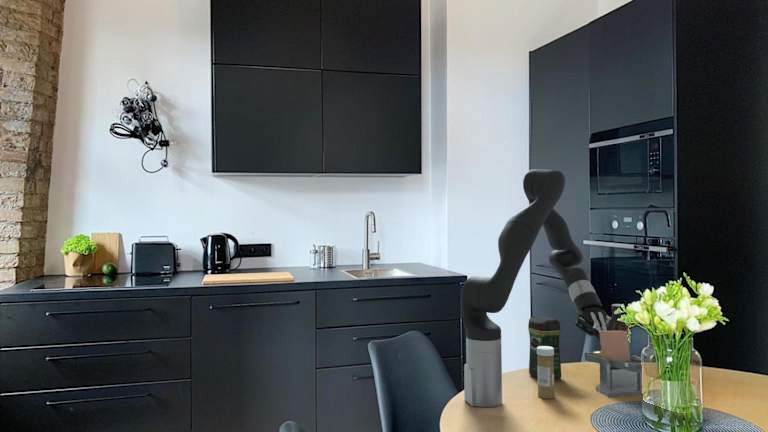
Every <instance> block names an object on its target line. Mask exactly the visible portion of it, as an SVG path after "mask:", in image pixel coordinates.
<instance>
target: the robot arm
mask: <svg viewBox="0 0 768 432" xmlns="http://www.w3.org/2000/svg"><path fill="white" fill-rule="evenodd" d="M565 178H566V177H565V175H564V173H562V171H560V170H557V169H545V168H544V169H542V168H541V169H540V168H538V169H537V168H535V169H534V168H533V169H530V170H528V171H526V173H525V174H524V177H523V181H522V187H523V191H524V194H525V197H526V198H527V200H528V202H529V205H527V206H526V207H524V208H522V209H520V210H519V211H518V212H516V213H515V214H514V215H512V216H511V217H509V219H508V220H507V222H506V223H505V225H504V227H503V229H502V230H501V232H500V234H499V236H498V239H497V240H498V242H497V243H498V244H497V245H498V246H497V248H498V253H499V259H500V262H499V264H498V267H497V269H496V271H495V273H493V275H492V276H491V277H489V276H488V277H487V276H470V277H468V278H467V279H465V281H464V283H463V286H462V290H461V309H462V310H461V311H462V322H463V324H462V325H463V327H464V329H465V338H466V339H465V341H466V342H465V346H466V347H465V348H466V349H465V350H466V351H465V352H466V354H465V355H466V356H465V357H466V359H465V361H466V363H464V365H463V372H464V373H463V375H464V376H463V383H464V387H463V388H464V391H463V392H464V394H463V395H464V400H465V401H466V402H467V403H468V404H469V406H470V407H479V408H494V407H499V406H501V405H502V404H503V385H502V384H503V375H502V374H503V372H502V369H503V367H502V364H503V363H502V362H503V361H502V359H503V358H502V329H501V326H499V325H498V324H497V323H495V322H494V321H492V319H490V317H489V315H488V314H498V313H500V312H501V311H502V310H503V309H504V308H505V306H506V304H507V302H508V300H509V298H510V295H511V293H512V289H513V287H514V285H515V282H516V279H517V276H518V274H519V272H520V270H521V268H522V266H523V264H524V261H525V260H526V258H527V257H528V254H529V252H530V251H531V249H532V247H533V245H534V243H535V241H536V239H537V237H538V235H539V233H540V230H541V229H542V227H543V230H544V232H545V235H546V237H547V241H548V243H549V245H550V247H551V249H552V251H551V252H550V253H549V255H548V262H549V264H550V267H551V268H553V269H554V271H555V272H556V273H558V275H559V276H560V277H561V279H562V280H563V282H564V283H565V286H566V288H567V291H568V292H569V297H570V299H571V301H572V304H573V305H574V308H575V311H576V312H577V314H578V318H577V319H576V321H575V323H574V325H575V326H576V327H577V328H579V329H580V330H581V331H583V332H584V333H585V334H587V335H588V336H589V337H595V338H597V340H598V343H599V344H600V346H601V343H600V333H599V331H612V329H613V326H614V323H615V320H616V318H615V317H614V316H613V317H612V316H609V315H608V314H607V312H606V311H605V310H604V309H603V304H602V303H601V300H600V298H599V296H598V294H597V293H596V290H595V288H594V287H593V285H592V284H591V282H590V280H589V278H588V276H587V273H586V271H585V270H584V269H583V268H582V267H576V266H578V265H581V264H582V262H583V258H584V256H583V253H582V251H581V249H580V248H579V246H577V245H576V243H575V242H574V240H573V239H572V235H571V233H570V230H569V226H568V225H567V222H566V220H565V219H564V218H563V217H562V215H560V214H559V213H558V211H556V209H554V208H555V206H556V204H557V203H558V202H559V200H560V199H561V197H562V194H563V192H564V189H565V185H566V179H565ZM606 325H607V326H606Z"/></svg>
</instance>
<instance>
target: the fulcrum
mask: <svg viewBox="0 0 768 432" xmlns="http://www.w3.org/2000/svg"><path fill="white" fill-rule="evenodd" d="M631 358H635V359H640V360H641V358H642V357H640V356H637V355H631ZM595 391H597V392H598V393H600V394H602V395H603V396H606V397H607V398H610V397H611V398H613V397H626V396H639V395H641V396H642V395H643V394H642V373H637V372H633V371H628V370H624V369H620V368H616V367H610V361H609V360H607V359H605V358H603V357H600V364H599V386H595Z"/></svg>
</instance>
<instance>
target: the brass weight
mask: <svg viewBox="0 0 768 432" xmlns="http://www.w3.org/2000/svg"><path fill="white" fill-rule="evenodd" d="M593 355H594V356H599V357H602V353H601V350H595V351H593Z"/></svg>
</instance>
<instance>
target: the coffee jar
mask: <svg viewBox="0 0 768 432" xmlns="http://www.w3.org/2000/svg"><path fill="white" fill-rule="evenodd" d="M527 329H528V334H529V361H528V374H529V375H530V377H533V378H536V379H537V380H538V371H537V365H538V356H537V347H539V346H550V347H553V348H554V357H553V361H554V382H555V381H558V380H560V379H561V378H562V362H561V351H560V336H561V332H562V331H561V330H562V328H561V322H560V321H559V320H558V319H556V318H552V317H549V316H545V315H535V316H530V318H529V319H528V327H527Z"/></svg>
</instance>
